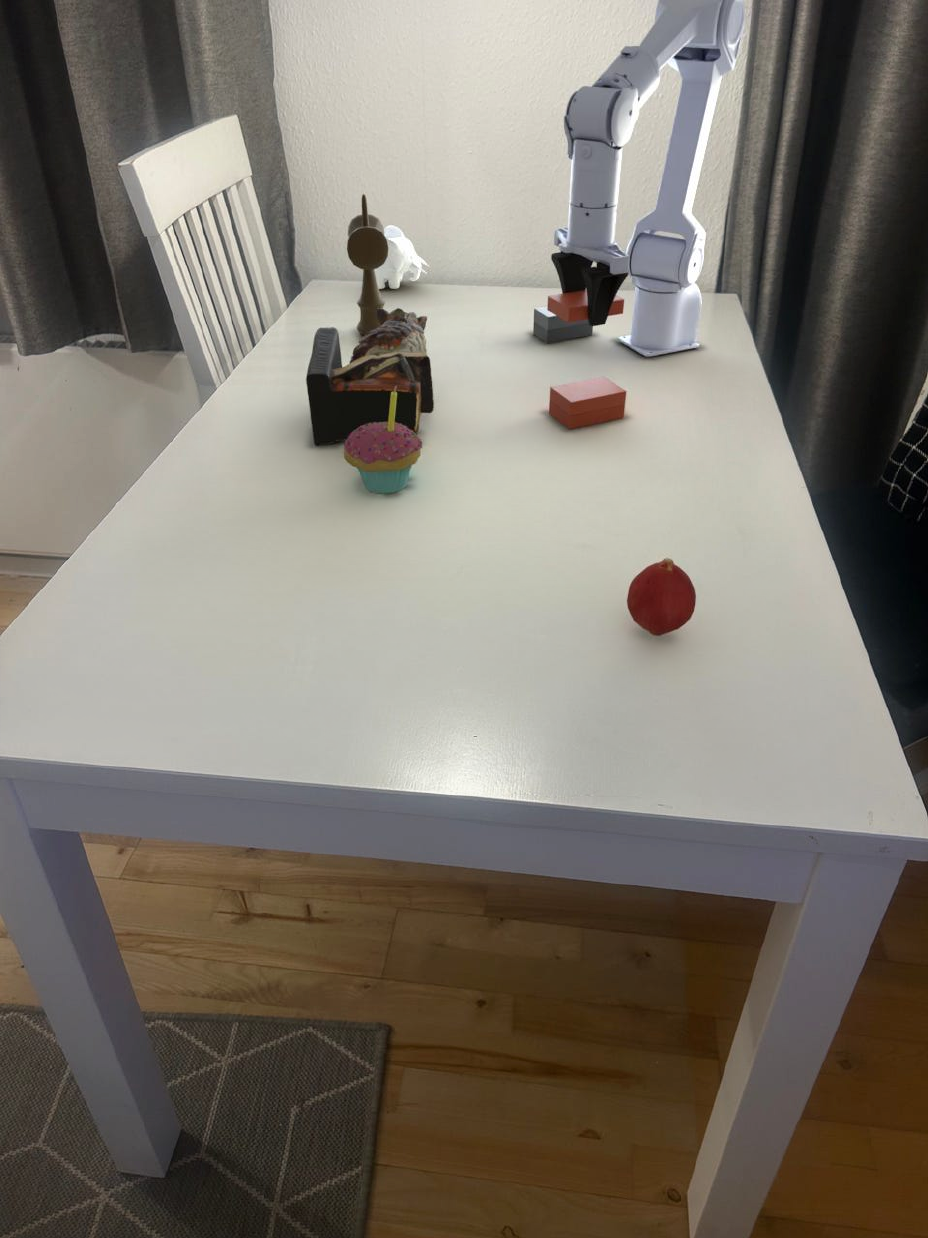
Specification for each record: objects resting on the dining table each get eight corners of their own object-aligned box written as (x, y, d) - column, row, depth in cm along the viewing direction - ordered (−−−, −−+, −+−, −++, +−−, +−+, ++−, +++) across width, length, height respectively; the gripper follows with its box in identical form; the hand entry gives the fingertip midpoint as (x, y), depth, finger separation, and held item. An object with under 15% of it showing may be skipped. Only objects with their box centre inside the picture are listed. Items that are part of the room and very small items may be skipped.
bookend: (302, 379, 105) (318, 288, 123) (316, 459, 112) (329, 362, 130) (431, 372, 105) (427, 282, 123) (436, 453, 112) (432, 357, 130)
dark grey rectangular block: (577, 326, 144) (578, 313, 143) (592, 335, 141) (593, 322, 140) (532, 333, 141) (533, 321, 140) (547, 343, 138) (547, 330, 137)
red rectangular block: (601, 402, 121) (602, 389, 120) (623, 417, 117) (625, 404, 116) (548, 413, 118) (549, 400, 117) (569, 429, 114) (570, 416, 113)
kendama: (354, 343, 139) (342, 202, 126) (353, 322, 146) (342, 187, 134) (393, 342, 139) (386, 201, 127) (390, 320, 147) (383, 185, 135)
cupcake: (433, 473, 105) (430, 373, 98) (405, 508, 99) (400, 404, 92) (365, 462, 107) (357, 363, 100) (334, 496, 101) (323, 393, 94)
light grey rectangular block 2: (578, 313, 143) (579, 300, 142) (593, 322, 140) (594, 309, 138) (533, 321, 140) (533, 308, 139) (547, 330, 137) (548, 317, 136)
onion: (617, 615, 83) (625, 540, 78) (679, 611, 83) (691, 537, 79) (631, 655, 78) (641, 579, 74) (697, 651, 79) (711, 575, 74)
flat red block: (600, 301, 119) (601, 287, 118) (623, 313, 116) (624, 299, 114) (547, 309, 117) (547, 295, 116) (568, 322, 113) (569, 308, 112)
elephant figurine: (426, 293, 158) (425, 239, 152) (357, 292, 158) (353, 238, 153) (431, 276, 165) (429, 224, 160) (365, 275, 166) (362, 224, 161)
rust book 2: (602, 389, 120) (603, 376, 119) (625, 404, 116) (626, 391, 115) (549, 400, 117) (550, 386, 116) (570, 416, 113) (571, 402, 112)
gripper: (534, 193, 112) (530, 304, 121) (596, 220, 102) (587, 339, 110) (584, 188, 115) (576, 297, 123) (649, 213, 104) (636, 331, 112)
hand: (584, 317), depth 117 cm, fingers closed on flat red block, 5 cm apart
